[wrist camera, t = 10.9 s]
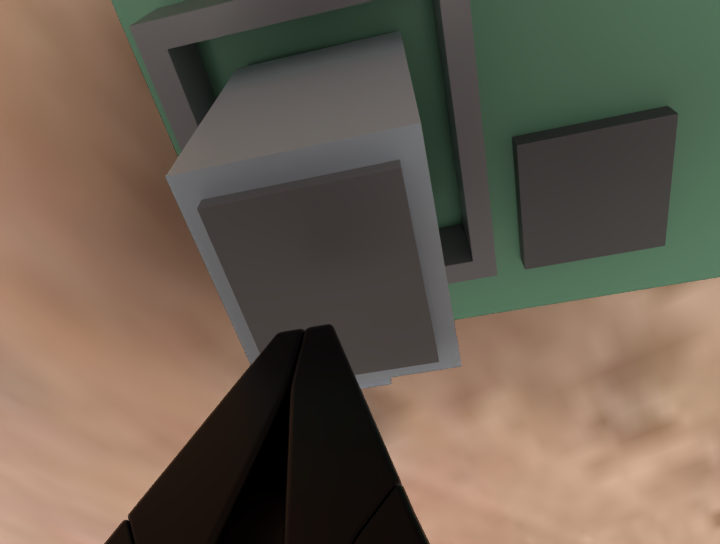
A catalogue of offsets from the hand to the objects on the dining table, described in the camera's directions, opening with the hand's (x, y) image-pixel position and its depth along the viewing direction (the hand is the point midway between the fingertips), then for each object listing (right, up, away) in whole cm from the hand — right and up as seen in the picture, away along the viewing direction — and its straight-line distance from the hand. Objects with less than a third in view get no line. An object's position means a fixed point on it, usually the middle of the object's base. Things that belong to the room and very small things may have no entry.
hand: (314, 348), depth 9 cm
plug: (0, +4, +6) cm, 8 cm away
